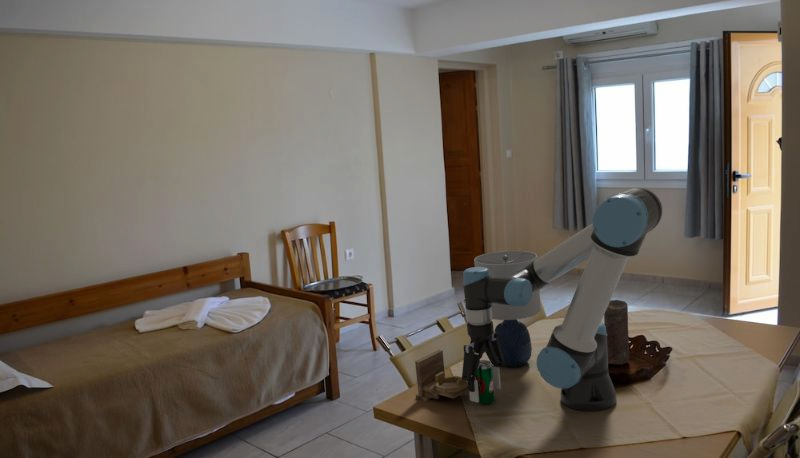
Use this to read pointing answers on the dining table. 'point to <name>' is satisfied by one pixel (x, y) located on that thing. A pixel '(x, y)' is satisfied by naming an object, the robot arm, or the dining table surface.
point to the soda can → (485, 382)
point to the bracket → (437, 379)
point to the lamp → (510, 330)
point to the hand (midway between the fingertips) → (485, 394)
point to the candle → (617, 332)
